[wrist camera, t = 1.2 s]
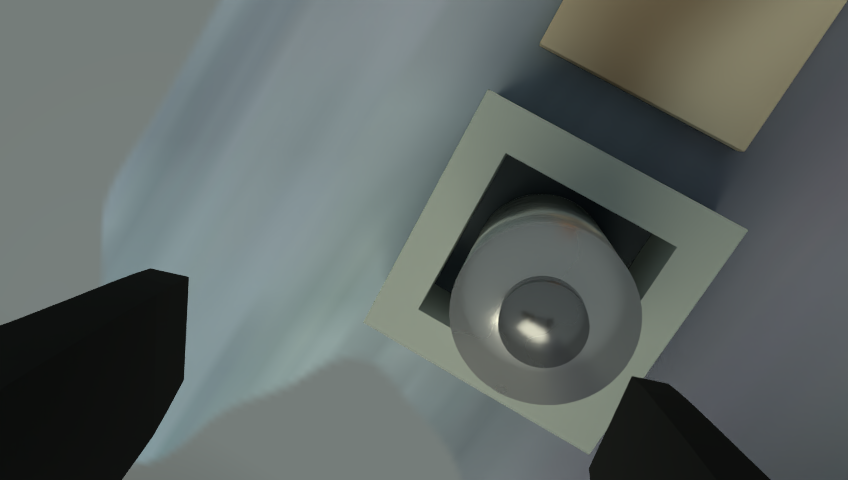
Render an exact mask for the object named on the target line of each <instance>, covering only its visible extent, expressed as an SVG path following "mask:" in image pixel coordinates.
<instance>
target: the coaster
mask: <svg viewBox="0 0 848 480" xmlns="http://www.w3.org/2000/svg"><path fill="white" fill-rule="evenodd" d="M846 2H847V0H563V2H562V3H561V5H560V7H559V9H558V11H557V13H556V14H555V16H554V18H553V20H552V22H551V24H550V25H549V27H548V29H547V31H546V33H545V34H544V36H543V38H542V40H541V42H540V47H542V48H544V49H546V50H548V51H550V52H552V53H554V54H556V55H557V56H559V57H561V58H563V59H565V60H567V61H569V62H571V63H573V64H574V65H576V66H578V67H580V68H582V69H584V70H586V71H588V72H589V73H591V74H593V75H595V76H597V77H599V78H601V79H603V80H605V81H606V82H608V83H610V84H612V85H614V86H616V87H618V88H620V89H622V90H623V91H625V92H627V93H629V94H631V95H633V96H635V97H637V98H638V99H640V100H642V101H644V102H646V103H648V104H650V105H652V106H654V107H655V108H657V109H659V110H661V111H663V112H665V113H667V114H669V115H670V116H672V117H674V118H676V119H678V120H680V121H682V122H684V123H686V124H687V125H689V126H691V127H693V128H695V129H697V130H699V131H701V132H703V133H704V134H706V135H708V136H710V137H712V138H714V139H716V140H718V141H719V142H721V143H723V144H725V145H727V146H729V147H731V148H733V149H735V150H736V151H741V152H745V150H746V149H747V147H748V146H749V145H750V143H751V142H752V140H753V139H754V137H755V136H756V134H757V133H758V131H759V130H760V128H761V127H762V125H763V124H764V122H765V121H766V119H767V118H768V117H769V115H770V114H771V112H772V111H773V109H774V108H775V106H776V105H777V103H778V102H779V100H780V99H781V97H782V96H783V94H784V93H785V92H786V90H787V89H788V87H789V86H790V84H791V83H792V81H793V80H794V78H795V77H796V75H797V74H798V72H799V71H800V69H801V68H802V66H803V65H804V64H805V62H806V61H807V59H808V58H809V56H810V55H811V53H812V52H813V50H814V49H815V47H816V46H817V44H818V43H819V41H820V40H821V39H822V37H823V36H824V34H825V33H826V31H827V30H828V28H829V27H830V25H831V24H832V22H833V21H834V19H835V18H836V16H837V15H838V13H839V12H840V11H841V9H842V8H843V6H844V5H845V3H846Z"/></svg>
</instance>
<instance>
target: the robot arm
mask: <svg viewBox="0 0 848 480" xmlns="http://www.w3.org/2000/svg"><path fill="white" fill-rule="evenodd" d="M188 282H189V277H186V276H182V275H177V274H173V273H168V272H164V271H159V270H155V269H147V270H144V271H141V272H138V273H135V274H132V275H129V276H127V277H124V278H121V279H119V280H116V281H114V282H111V283H108V284H106V285H103V286H101V287H98V288H96V289H93V290H91V291H88V292H86V293H83V294H81V295H78V296H76V297H74V298H71V299H68V300H66V301H63V302H61V303H58V304H55V305H53V306H50V307H48V308H45V309H43V310H40V311H37V312H35V313H32V314H30V315H27V316H25V317H22V318H19V319H17V320H14V321H12V322H9V323H6V324H3V325H0V480H122V479H123V477H124V476H125V475H126V473H127V472H128V470H129V469H130V468H131V466H132V465H133V463H134V462H135V461H136V459H137V458H138V456H139V455H140V454H141V452H142V451H143V449H144V448H145V447H146V445H147V444H148V442H149V441H150V439H151V438H152V437H153V435H154V433H155V432H156V430H157V428H158V426H159V425H160V423H161V421H162V419H163V417H164V416H165V414H166V412H167V410H168V409H169V407H170V405H171V403H172V401H173V399H174V397H175V395H176V393H177V392H178V390H179V388H180V386H181V384H182V382H183V380H184V364H185V344H186V323H187V303H188ZM589 473H590V480H770V479H769V478H768V477H767V476H766V475H765V474H764V473H763V472H762V471H761V470H760V469H759V468H758V467H757V466H756V465H755V464H754V463H753V462H752V461H751V460H749V459H748V458H747V457H746V456H745V455H744V454H743V453H742V452H741V451H740V450H739V449H738V448H737V447H736V446H735V445H734V444H733V443H732V442H731V441H730V440H729V439H728V438H727V437H726V436H725V435H724V434H723V433H722V432H721V431H720V430H719V429H718V428H717V427H716V426H714V425H713V424H712V423H711V422H710V421H709V420H708V419H707V418H706V417H705V416H704V415H703V414H702V413H701V412H700V411H699V410H698V409H697V408H696V407H695V406H693V405H692V404H691V403H690V402H689V401H688V400H687V399H686V398H685V397H683V396H682V395H681V394H680V393H679V392H678V391H676V390H675V389H674V388H673V387H672V386H670V385H669V384H666V383H661V382H657V381H652V380H648V379H644V378H639V377H635V376H632V377H631V379H630V381H629V383H628V385H627V387H626V390H625V392H624V394H623V396H622V398H621V400H620V403H619V405H618V407H617V409H616V411H615V413H614V416H613V418H612V420H611V422H610V424H609V426H608V428H607V431H606V433H605V435H604V437H603V439H602V441H601V444H600V446H599V448H598V450H597V452H596V454H595V456H594V459H593V461H592V463H591V465H590V467H589Z"/></svg>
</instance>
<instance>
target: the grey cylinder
mask: <svg viewBox="0 0 848 480" xmlns="http://www.w3.org/2000/svg"><path fill="white" fill-rule="evenodd" d="M449 318H450V327H451V332H452V336H453V339H454V342H455V345H456V347H457V349H458V351H459V353H460V355H461V357H462V359H463V360H464V362H465V363H466V364H467V366H468V367H469V369H470V370H471V371H472V372H473V373H474V374H475V375H476V376H477V377H478V378H479V379H480V380H481V381H482V382H484V383H485V384H486V385H487V386H489V387H490V388H492V389H493V390H495V391H496V392H498V393H500V394H502V395H504V396H506V397H509V398H511V399H514V400H517V401H520V402H525V403H529V404H536V405H560V404H567V403H571V402H575V401H579V400H581V399H584V398H587V397H589V396H591V395H593V394H595V393H597V392H599V391H600V390H602V389H603V388H605V387H606V386H607V385H609V384H610V383H611V382H612V381H613V380H615V379H616V378H617V377H618V376H619V375H620V373H621V372H622V371H623V370H624V369H625V367H626V366H627V365H628V363H629V361H630V359H631V358H632V356H633V354H634V352H635V349H636V347H637V345H638V341H639V337H640V334H641V326H642V306H641V301H640V295H639V292H638V289H637V286H636V283H635V281H634V279H633V277H632V275H631V273H630V272H629V270H628V269H627V267H626V266H625V264H624V263H623V261H622V260H621V258H620V257H619V256H618V254H617V253H616V251H615V250H614V248H613V247H612V245H611V244H610V242H609V241H608V239H607V238H606V236H605V235H604V234H603V232H602V231H601V229H600V228H599V226H598V225H597V223H596V222H595V220H594V219H593V218H592V217H591V216H590V214H589V213H588V212H587V211H585V210H584V209H583V208H582V207H581V206H579V205H578V204H576V203H574V202H573V201H571V200H568V199H566V198H563V197H560V196H557V195H551V194H530V195H525V196H521V197H518V198H516V199H513V200H511V201H509V202H507V203H506V204H504V205H503V206H501V207H500V208H499V209H498V210H496V211H495V212H494V213H493V214H492V215H491V217H490V218H489V219H488V220H487V222H486V223H485V225H484V226H483V228H482V230H481V232H480V234H479V236H478V238H477V240H476V242H475V244H474V246H473V247H472V249H471V251H470V253H469V255H468V257H467V259H466V261H465V263H464V265H463V267H462V269H461V270H460V272H459V275H458V277H457V279H456V281H455V284H454V287H453V290H452V293H451V299H450V308H449Z"/></svg>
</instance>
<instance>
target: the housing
mask: <svg viewBox="0 0 848 480" xmlns="http://www.w3.org/2000/svg"><path fill="white" fill-rule="evenodd" d="M507 154H508V155H510V156H512V157H514V158H516V159H517V160H519V161H521V162H523V163H525V164H527V165H528V166H530V167H532V168H534V169H536V170H537V171H539V172H541V173H543V174H545V175H547V176H548V177H550V178H552V179H554V180H556V181H558V182H559V183H561V184H563V185H565V186H567V187H568V188H570V189H572V190H574V191H576V192H578V193H579V194H581V195H583V196H585V197H587V198H588V199H590V200H592V201H594V202H596V203H598V204H599V205H601V206H603V207H605V208H607V209H609V210H610V211H612V212H614V213H616V214H618V215H619V216H621V217H623V218H625V219H627V220H629V221H630V222H632V223H634V224H636V225H638V226H639V227H641V228H643V229H645V230H647V231H649V232H650V233H652V234H651V236H650V237H649V239H648V240H647V242H646V243H645V245H644V246H643V248H642V249H641V251H640V252H639V254H638V255H637V257H636V258H635V260H634V261H633V263H632V265H631V266H630V268H629V269H628V270H629V272H630V273H631V275H632V277H633V279H634V281H635V283H636V286H637V289H638V292H639V295H640V301H641V306H642V326H641V334H640V337H639V341H638V345H637V347H636V349H635V352H634V354H633V356H632V358H631V359H630V361H629V363H628V365H627V366H626V367H625V369H624V370H623V371H622V372H621V373H620V375H619V376H618V377H617V378H616V379H615V380H613V381H612V382H611V383H610V384H609V385H607V386H606V387H605V388H603V389H602V390H600V391H599V392H597V393H595V394H593V395H591V396H589V397H587V398H584V399H581V400H579V401H575V402H571V403H567V404H560V405H536V404H529V403H525V402H520V401H517V400H514V399H511V398H509V397H506V396H504V395H502V394H500V393H498V392H496V391H495V390H493V389H492V388H490V387H489V386H487V385H486V384H485V383H484V382H482V381H481V380H480V379H479V378H478V377H477V376H476V375H475V374H474V373H473V372H472V371H471V370H470V369H469V367H468V366H467V364H466V363H465V362H464V360H463V359H462V357H461V355H460V353H459V351H458V349H457V347H456V345H455V342H454V339H453V336H452V332H451V327H450V318H449V308H450V299H451V293H449V292H448V291H446V290H444V289H442V288H441V287H439V286H437V285H435V282H436V280H437V279H438V277H439V275H440V273H441V271H442V270H443V268H444V266H445V264H446V263H447V261H448V259H449V257H450V255H451V254H452V252H453V250H454V248H455V247H456V245H457V243H458V241H459V239H460V238H461V236H462V234H463V232H464V231H465V229H466V227H467V225H468V223H469V222H470V220H471V218H472V216H473V215H474V213H475V211H476V209H477V207H478V206H479V204H480V202H481V200H482V199H483V197H484V195H485V193H486V191H487V190H488V188H489V186H490V184H491V182H492V181H493V179H494V177H495V175H496V174H497V172H498V170H499V168H500V166H501V165H502V163H503V161H504V159H505V158H506V156H507ZM747 231H748V230H747V229H745V228H744V227H742V226H740V225H738V224H736V223H734V222H732V221H731V220H729V219H727V218H725V217H723V216H721V215H720V214H718V213H716V212H714V211H712V210H710V209H708V208H707V207H705V206H703V205H701V204H699V203H697V202H696V201H694V200H692V199H690V198H688V197H686V196H684V195H683V194H681V193H679V192H677V191H675V190H673V189H672V188H670V187H668V186H666V185H664V184H662V183H660V182H659V181H657V180H655V179H653V178H651V177H649V176H647V175H646V174H644V173H642V172H640V171H638V170H636V169H635V168H633V167H631V166H629V165H627V164H625V163H623V162H622V161H620V160H618V159H616V158H614V157H612V156H611V155H609V154H607V153H605V152H603V151H601V150H599V149H598V148H596V147H594V146H592V145H590V144H588V143H586V142H585V141H583V140H581V139H579V138H577V137H575V136H574V135H572V134H570V133H568V132H566V131H564V130H562V129H561V128H559V127H557V126H555V125H553V124H551V123H550V122H548V121H546V120H544V119H542V118H540V117H538V116H537V115H535V114H533V113H531V112H529V111H527V110H526V109H524V108H522V107H520V106H518V105H516V104H514V103H513V102H511V101H509V100H507V99H505V98H503V97H501V96H500V95H498V94H496V93H494V92H492V91H490V90H489V89H488V90H487V92H486V94H485V96H484V98H483V100H482V101H481V103H480V105H479V107H478V109H477V111H476V113H475V114H474V116H473V118H472V120H471V122H470V124H469V126H468V128H467V129H466V131H465V133H464V135H463V137H462V139H461V141H460V143H459V144H458V146H457V148H456V150H455V152H454V154H453V156H452V157H451V159H450V161H449V163H448V165H447V167H446V169H445V171H444V172H443V174H442V176H441V178H440V180H439V182H438V184H437V186H436V187H435V189H434V191H433V193H432V195H431V197H430V199H429V200H428V202H427V204H426V206H425V208H424V210H423V212H422V214H421V215H420V217H419V219H418V221H417V223H416V225H415V227H414V229H413V230H412V232H411V234H410V236H409V238H408V240H407V242H406V243H405V245H404V247H403V249H402V251H401V253H400V255H399V257H398V258H397V260H396V262H395V264H394V266H393V268H392V270H391V272H390V273H389V275H388V277H387V279H386V281H385V283H384V285H383V286H382V288H381V290H380V292H379V294H378V296H377V298H376V300H375V301H374V303H373V305H372V307H371V309H370V311H369V313H368V315H367V316H366V318H365V320H364V322H363V323H365V324H367V325H369V326H370V327H372V328H374V329H375V330H377V331H379V332H380V333H382V334H384V335H386V336H387V337H389V338H391V339H392V340H394V341H396V342H398V343H399V344H401V345H403V346H404V347H406V348H408V349H409V350H411V351H413V352H415V353H416V354H418V355H420V356H421V357H423V358H425V359H427V360H428V361H430V362H432V363H433V364H435V365H437V366H439V367H440V368H442V369H444V370H445V371H447V372H449V373H450V374H452V375H454V376H456V377H457V378H459V379H461V380H462V381H464V382H466V383H468V384H469V385H471V386H473V387H474V388H476V389H478V390H479V391H481V392H483V393H485V394H486V395H488V396H490V397H491V398H493V399H495V400H497V401H498V402H500V403H502V404H503V405H505V406H507V407H509V408H510V409H512V410H514V411H515V412H517V413H519V414H520V415H522V416H524V417H526V418H527V419H529V420H531V421H532V422H534V423H536V424H538V425H539V426H541V427H543V428H544V429H546V430H548V431H549V432H551V433H553V434H555V435H556V436H558V437H560V438H561V439H563V440H565V441H567V442H568V443H570V444H572V445H573V446H575V447H577V448H578V449H580V450H582V451H584V452H585V453H587V454H590V453H591V451H592V450H593V449H594V447H595V446H596V444H597V443H598V442H599V440H600V439H601V437H602V436H603V435H604V433H605V432H606V430H607V428H608V426H609V424H610V422H611V420H612V418H613V416H614V413H615V411H616V409H617V407H618V405H619V403H620V400H621V398H622V396H623V394H624V392H625V390H626V387H627V385H628V383H629V381H630V379H631V377H632V376H635V377H639V378H644V377H645V375H646V374H647V372H648V371H649V370H650V368H651V367H652V365H653V364H654V363H655V361H656V360H657V358H658V357H659V355H660V354H661V353H662V351H663V350H664V348H665V347H666V346H667V344H668V343H669V341H670V340H671V339H672V337H673V336H674V334H675V333H676V332H677V330H678V329H679V327H680V326H681V324H682V323H683V322H684V320H685V319H686V317H687V316H688V315H689V313H690V312H691V310H692V309H693V308H694V306H695V305H696V303H697V302H698V300H699V299H700V298H701V296H702V295H703V293H704V292H705V291H706V289H707V288H708V286H709V285H710V284H711V282H712V281H713V279H714V278H715V276H716V275H717V274H718V272H719V271H720V269H721V268H722V267H723V265H724V264H725V262H726V261H727V260H728V258H729V257H730V255H731V254H732V252H733V251H734V250H735V248H736V247H737V245H738V244H739V243H740V241H741V240H742V238H743V237H744V236H745V234H746V233H747Z"/></svg>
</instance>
